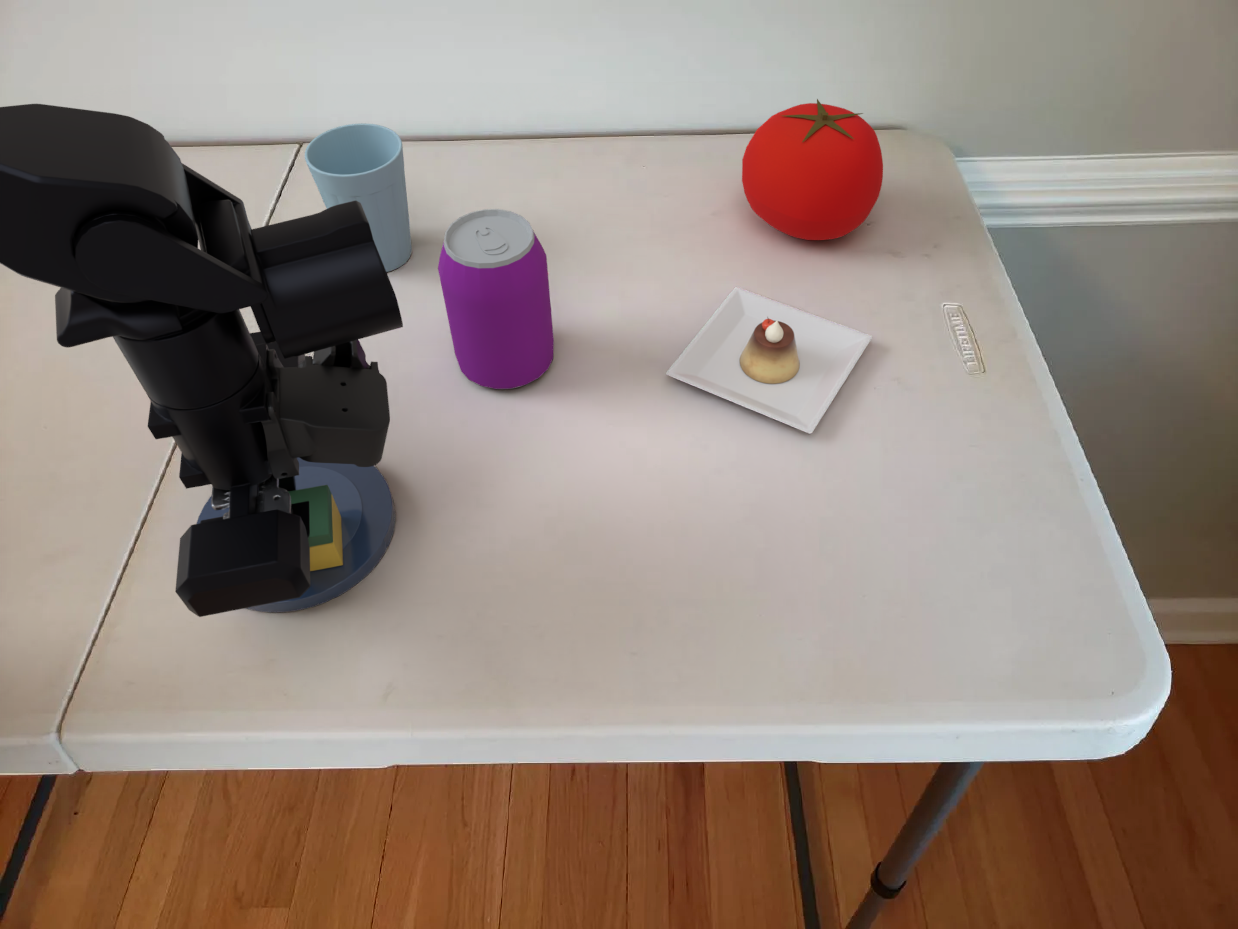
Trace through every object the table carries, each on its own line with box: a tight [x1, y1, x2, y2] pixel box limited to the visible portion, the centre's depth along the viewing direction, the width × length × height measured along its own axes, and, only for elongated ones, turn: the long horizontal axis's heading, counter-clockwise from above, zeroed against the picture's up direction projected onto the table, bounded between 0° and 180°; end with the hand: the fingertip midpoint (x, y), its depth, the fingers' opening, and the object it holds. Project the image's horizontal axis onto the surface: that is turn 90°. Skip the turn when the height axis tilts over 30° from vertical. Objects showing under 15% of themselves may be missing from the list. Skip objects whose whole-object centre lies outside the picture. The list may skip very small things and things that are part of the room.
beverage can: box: [437, 208, 555, 390], centre depth 68 cm, size 8×8×12 cm
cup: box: [304, 122, 413, 273], centre depth 77 cm, size 8×8×10 cm
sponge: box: [288, 485, 343, 571], centre depth 58 cm, size 6×4×4 cm, turn 103°
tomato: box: [741, 98, 884, 241], centre depth 80 cm, size 12×12×10 cm
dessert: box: [665, 286, 873, 434], centre depth 70 cm, size 12×12×5 cm
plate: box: [196, 457, 396, 613], centre depth 62 cm, size 13×13×1 cm
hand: (290, 541), depth 59 cm, fingers closed on sponge, 4 cm apart
